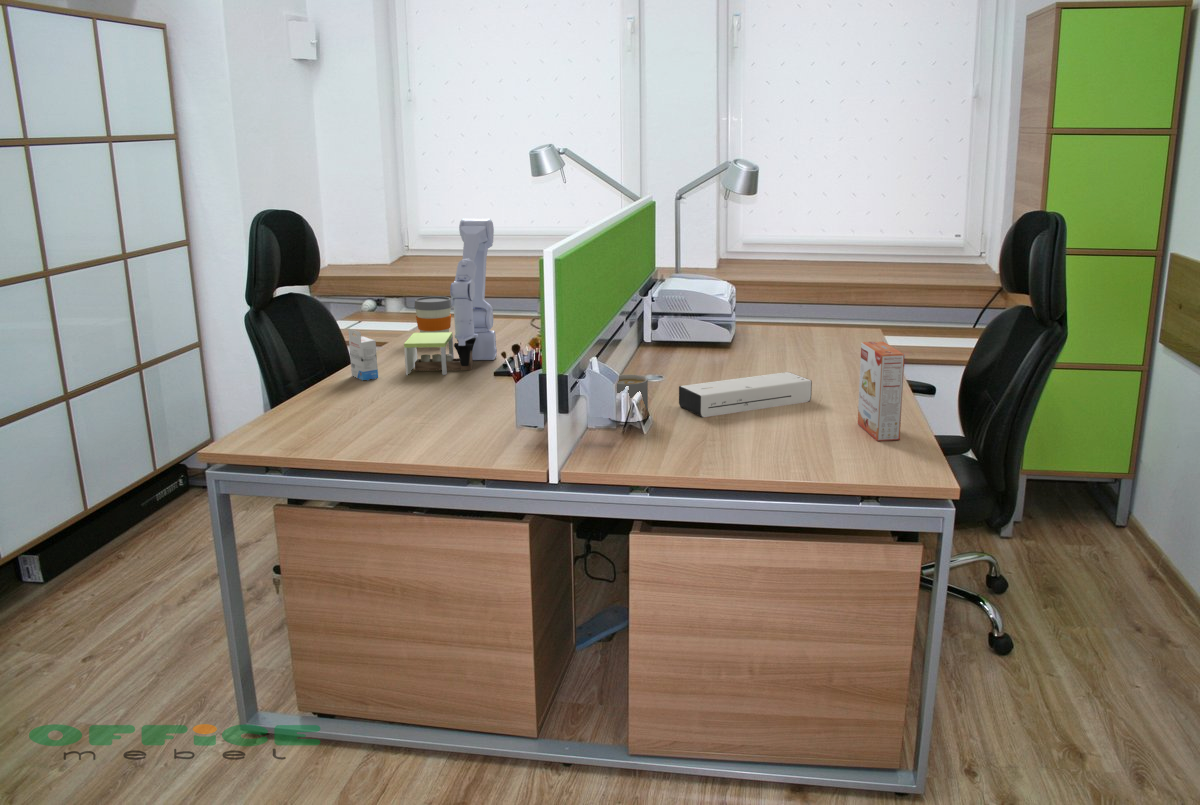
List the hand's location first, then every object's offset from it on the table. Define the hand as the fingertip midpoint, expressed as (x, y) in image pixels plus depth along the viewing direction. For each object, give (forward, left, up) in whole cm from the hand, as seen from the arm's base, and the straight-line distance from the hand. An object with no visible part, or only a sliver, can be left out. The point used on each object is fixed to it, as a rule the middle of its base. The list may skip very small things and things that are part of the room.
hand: (466, 363), depth 312 cm
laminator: (-80, +44, -2) cm, 91 cm away
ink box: (+29, +10, -2) cm, 31 cm away
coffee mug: (-47, +56, -2) cm, 73 cm away
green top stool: (+11, 0, -1) cm, 11 cm away
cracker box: (-108, +71, -2) cm, 129 cm away
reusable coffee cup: (+16, -39, -2) cm, 42 cm away
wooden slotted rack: (+7, 0, -1) cm, 7 cm away
